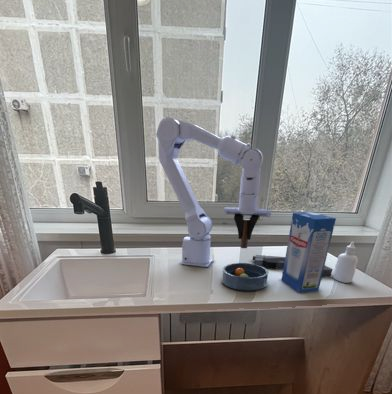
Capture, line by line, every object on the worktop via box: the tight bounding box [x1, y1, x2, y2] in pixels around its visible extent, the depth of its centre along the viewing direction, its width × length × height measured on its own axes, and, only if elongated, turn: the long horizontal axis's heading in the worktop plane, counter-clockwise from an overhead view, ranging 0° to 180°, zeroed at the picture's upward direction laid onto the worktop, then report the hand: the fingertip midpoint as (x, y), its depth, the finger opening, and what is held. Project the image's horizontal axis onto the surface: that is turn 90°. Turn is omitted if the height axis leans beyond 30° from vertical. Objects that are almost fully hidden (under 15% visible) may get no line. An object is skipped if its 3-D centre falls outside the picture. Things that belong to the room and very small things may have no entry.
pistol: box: [252, 254, 333, 277], centre depth 98 cm, size 2×26×15 cm
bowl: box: [221, 262, 269, 292], centre depth 85 cm, size 13×13×4 cm
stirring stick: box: [239, 218, 250, 249], centre depth 93 cm, size 2×2×9 cm
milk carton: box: [281, 211, 337, 294], centre depth 81 cm, size 10×6×20 cm, turn 16°
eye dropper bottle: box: [332, 241, 359, 284], centre depth 87 cm, size 4×6×12 cm
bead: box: [235, 268, 244, 277], centre depth 88 cm, size 3×3×3 cm
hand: (244, 238), depth 94 cm, fingers closed on stirring stick, 2 cm apart
